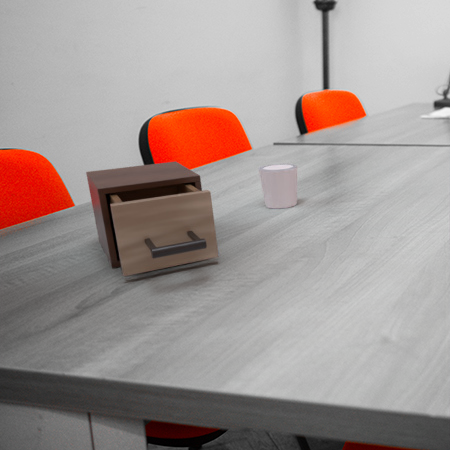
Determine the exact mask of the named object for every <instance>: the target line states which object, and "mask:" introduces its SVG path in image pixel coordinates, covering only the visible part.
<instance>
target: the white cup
mask: <svg viewBox="0 0 450 450" xmlns="http://www.w3.org/2000/svg"><path fill="white" fill-rule="evenodd" d="M258 173H259V178H260V179H259V180H260V183H261V188H262V194H263V199H264V204H265V208H268V209H274V210H275V209H287V208H288V209H289V208H292V207H294V206H297V204H298V166H297V165H296V164H293V163H292V164H291V163H276V164H268V165H263V166H261V167H258Z"/></svg>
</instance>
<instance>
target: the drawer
mask: <svg viewBox="0 0 450 450" xmlns="http://www.w3.org/2000/svg"><path fill="white" fill-rule="evenodd" d="M105 195H106V200H107V205H108V211H109V216H110V222H111V227H112V233H113V238H114V244H115V247H116V248H117V250H118V252H119V256H120V262H121V267H120V268H121V273H122V275H123V277H129V276H133V275H137V274H143V273H147V272H153V271H156V270H157V271H158V270H162V269H167V268H171V267H176V266H181V265H185V264H190V263H196V262H201V261H205V260H210V259H215V258H219V257H220V255H219V248H218V240H217V231H216V225H215V217H214V209H213V201H212V194H211V191H210V190H208V189H202V191H200V190H198V189H197V188H195V187H194V186H192V185H191V184H189V183H183V184H176V185H168V186H161V187H154V188H146V189H139V190H132V191H124V192H117V193H110V194H105Z"/></svg>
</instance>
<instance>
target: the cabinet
mask: <svg viewBox="0 0 450 450" xmlns="http://www.w3.org/2000/svg"><path fill="white" fill-rule="evenodd" d="M85 175H86V177H87V178H86V179H87V185H88V190H89V195H90V201H91V206H92V210H93V216H94V222H95V227H96V232H97V237H98V238H97V239H98V241H99V243H100V246H101V248H102V250H103V253H104V254H105V256H106V258H107V261H108V263H109V265H110V267H111V268H112V269H116V268H122V267H121V262H120V256H119V252H118V250H117V248H116V247H115V244H114V238H113V233H112V227H111V222H110V216H109V211H108V205H107V200H106V195H105V194H110V193H117V192H124V191H132V190H139V189H146V188H154V187H161V186H168V185H176V184H183V183H189V184H191V185H192V186H194V187H195V188H197V189H198V190H200V191H203V186H202V181H201V175H200V174H198V173H197V172H195V171H193V170H191V169H190V168H188V167H186V166H184V165H182V164H181V163H179V162H177V161H168V162H160V163H151V164H143V165H135V166H133V165H132V166H125V167H116V168H108V169H99V170H91V171H86V172H85Z"/></svg>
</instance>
